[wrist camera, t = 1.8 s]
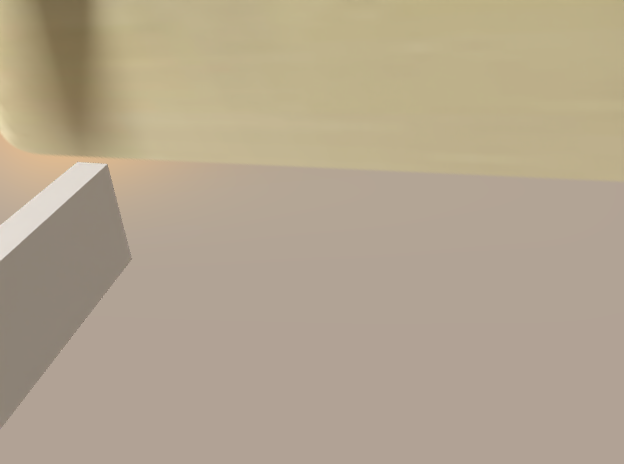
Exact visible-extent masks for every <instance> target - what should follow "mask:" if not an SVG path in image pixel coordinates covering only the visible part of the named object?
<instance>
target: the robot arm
mask: <svg viewBox="0 0 624 464" xmlns="http://www.w3.org/2000/svg"><path fill="white" fill-rule="evenodd" d="M131 260H132V258H131V254H130V250H129V246H128V242H127V238H126V235H125V231H124V227H123V223H122V219H121V215H120V211H119V207H118V203H117V200H116V196H115V192H114V188H113V184H112V180H111V176H110V173H109V169H108V165H107V164H99V163H84V162H77V163H76V164H75V165H73V166H72V167H71V168H69V169H68V170H67V171H66V172H65V173H63V174H62V175H61V176H60V177H59V178H57V179H56V180H55V181H54V182H52V183H51V184H50V185H49V186H48V187H47V188H45V189H44V190H43V191H42V192H40V193H39V194H38V195H37V196H35V198H33V199H32V200H31V201H29V202H28V203H27V204H26V205H25V206H23V207H22V208H21V209H20V210H18V211H17V212H16V213H15V214H14V215H12V216H11V217H10V218H9V219H7V220H6V221H5V222H4V223H3V224H1V225H0V429H1V428H2V426H3V425H4V424H5V423H6V421H7V420H8V419H9V417H10V416H11V415H12V414H13V412H14V411H15V410H16V408H17V407H18V406H19V405H20V403H21V402H22V401H23V399H24V398H25V397H26V395H27V394H28V393H29V392H30V390H31V389H32V388H33V386H34V385H35V384H36V382H37V381H38V380H39V379H40V377H41V376H42V375H43V373H44V372H45V371H46V369H47V368H48V367H49V366H50V364H51V363H52V362H53V360H54V359H55V358H56V357H57V355H58V354H59V353H60V351H61V350H62V349H63V348H64V346H65V345H66V344H67V342H68V341H69V340H70V339H71V337H72V336H73V334H74V333H75V332H76V331H77V329H78V328H79V327H80V325H81V324H82V323H83V322H84V320H85V319H86V318H87V316H88V315H89V314H90V313H91V311H92V310H93V309H94V307H95V306H96V305H97V304H98V302H99V301H100V300H101V298H102V297H103V295H104V294H105V293H106V292H107V291H108V289H109V288H110V287H111V285H112V284H113V283H114V282H115V280H116V279H117V278H118V276H119V275H120V274H121V272H122V271H123V270H124V268H125V267H126V266H127V265H128V263H129V262H130V261H131Z"/></svg>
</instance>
